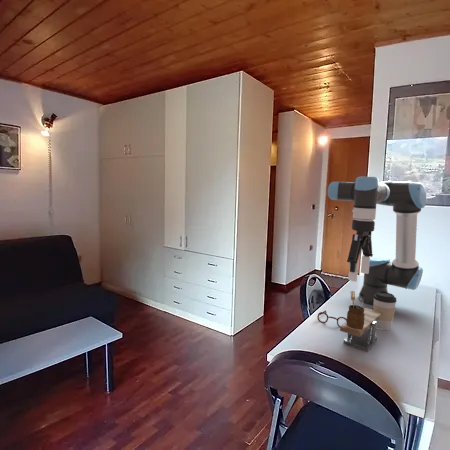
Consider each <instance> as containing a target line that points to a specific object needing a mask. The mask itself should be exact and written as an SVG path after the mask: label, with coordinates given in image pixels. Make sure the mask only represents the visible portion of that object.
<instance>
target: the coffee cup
mask: <svg viewBox="0 0 450 450" xmlns="http://www.w3.org/2000/svg"><path fill="white" fill-rule="evenodd" d="M373 298H374V303H373V304H372V305H373V307H372V310H376V311H379V312H383V313H382V317H380V318H379V319H378V320H377V324H376V329H378V330H384V331H390V330H391V329H392V324H393V320H394V316H395V311H396V304H397V297H395V295H394V294H392V293H390V292H388V293H387V292H385V291H380V292H377V293H376V294H374V297H373Z"/></svg>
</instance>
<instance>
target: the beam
mask: <svg viewBox="0 0 450 450" xmlns="http://www.w3.org/2000/svg"><path fill="white" fill-rule="evenodd" d="M363 308H364V312H363V313H364V315H365V319H364V326H363V328H361V329H356V328H352V327H349V326H348V325H347V322H346V321H345V322H344V323H343V324H342V325H340V327H339V331H340V332H343V333H346V334H348V333H349V334H352V335H355V336H358V337H360V336H361V335H362V334H363V333H364V332H365V331H367V330H368V329H369V328H370V327H371V328H372V323H373V322H374V321H377V320H378V319H379V318H380V317H382V313H383V312H379V311H376V310H373V308H367V307H363Z"/></svg>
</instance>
